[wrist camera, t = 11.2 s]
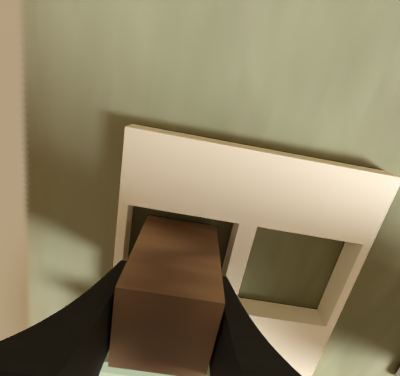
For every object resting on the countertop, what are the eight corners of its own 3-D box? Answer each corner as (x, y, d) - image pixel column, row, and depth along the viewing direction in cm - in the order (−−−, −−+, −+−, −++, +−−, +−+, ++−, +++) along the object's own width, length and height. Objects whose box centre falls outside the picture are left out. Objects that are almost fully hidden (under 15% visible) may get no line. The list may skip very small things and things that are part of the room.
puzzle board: (384, 170, 14) (402, 178, 13) (282, 406, 21) (287, 427, 19) (132, 123, 14) (124, 126, 12) (107, 383, 20) (101, 403, 19)
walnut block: (216, 226, 15) (225, 303, 9) (203, 282, 16) (204, 379, 11) (148, 214, 15) (114, 287, 9) (140, 272, 16) (107, 366, 10)
